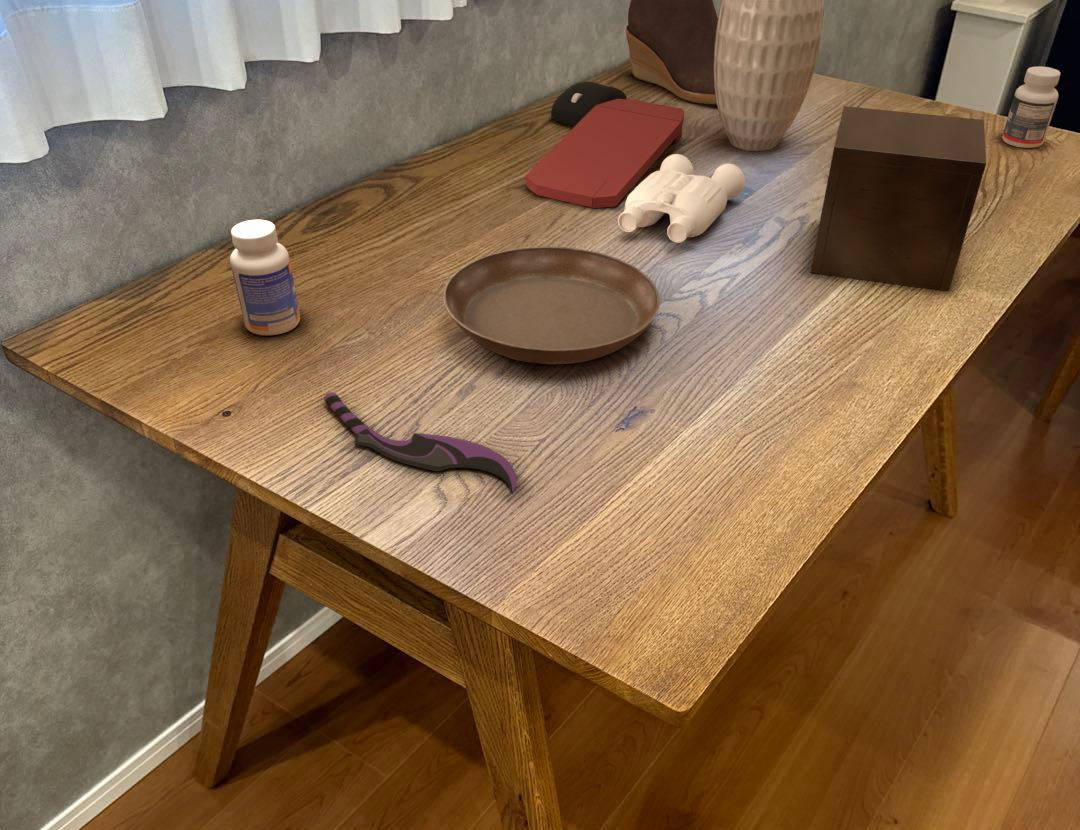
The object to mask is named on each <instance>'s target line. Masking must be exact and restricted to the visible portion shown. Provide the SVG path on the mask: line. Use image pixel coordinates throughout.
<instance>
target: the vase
mask: <svg viewBox="0 0 1080 830" xmlns="http://www.w3.org/2000/svg"><path fill="white" fill-rule="evenodd" d="M824 14H825V0H720V3H719V9H718V14H717V17H718V22H717V29H716V38H715V48H714V88H715V94H716V101H717V104H716V106H717V110H718V114H719V119H720V121H721V125H722V127H723V129H724V132H725V134H726V136H727V139H728V141H729V143H730V145H732V146H733V147H735V148H736V149H739V150H741V151H742V150H743V151H747V152H765V151H770V150H772V149H774V148H775V147H777V145H778V144H779V143H780V141H781V140H782V139H783V137H784V136H785V135H786V133H787V132H788V131H789V129H790V128H791V127H792V126H793V123H794V121H795V120H796V117H797V116H798V114H799V112H800V111H801V108H802V106H803V103H804V101H805V99H806V96H807V94H808V92H809V88H810V85H811V83H812V79H813V76H814V74H815V73H814V72H815V68H816V64H817V60H818V55H819V50H820V44H821V40H822V39H821V38H822V33H823V24H824Z"/></svg>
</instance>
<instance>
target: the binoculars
mask: <svg viewBox="0 0 1080 830" xmlns="http://www.w3.org/2000/svg"><path fill="white" fill-rule="evenodd" d="M745 184H746V179H745V175H744V172H743V171H742V170H741V168H740V167H738V165H736V164H733V163H724V164H721V165H719V166H718V167H716V169H715V170H714V171H713V173H712V176H710V177H709V176H705V175H697V174H694V168H693V164H692V162H691V160H689V158H688V157H686V156H685V155H683V154H679V153H673V154H670V155H668V156H667V157H666V158H664V159H663V161H662V162H661V164H660V168H659V170H656V171H654V172H652V173H650V174H649V175H648V176H647V177H645V179H643V180H642V181H641V182H640V183H639V184H638V185H637V186H636V187H634V189H633V190H632V191H631V192H630V193H629V194H628V195H627V197H626V200H625V202H624V210H623V211H622V212H621V213H620V214H619V215H618V217H617V225H618V227H619V228H620V229H621V230H622V231H623V232H625V233H632V232H634V231H635V230H636V229H637V228H647V227H651V226H653V225H655V224H656V223H657V222H658V221H659V220H660V219H661V218H662V217H663V216H664V215H665V214H668V216H669V223H670V224H669V225H668V227H667V228H666V229H667V230H666V234H667V237H668V238H669V240H670V241H672V242H673V243H676V244H680V243H683V242H685V240H686V239H687V238H694V237H697V236H701V235H702V234H704V233H705V232H706V230H708V228H709V227H710V226H711V225H712V224H713V223H714V221H716V220H717V218H719V216H720V215H721V214H722V213H723V212H724V210H725V208H726V207H727V205H728V203H727V202H728V200H731V199H735V198H737V197H738V196H739V195H741V193H742V192H743V191H744V188H745Z"/></svg>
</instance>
